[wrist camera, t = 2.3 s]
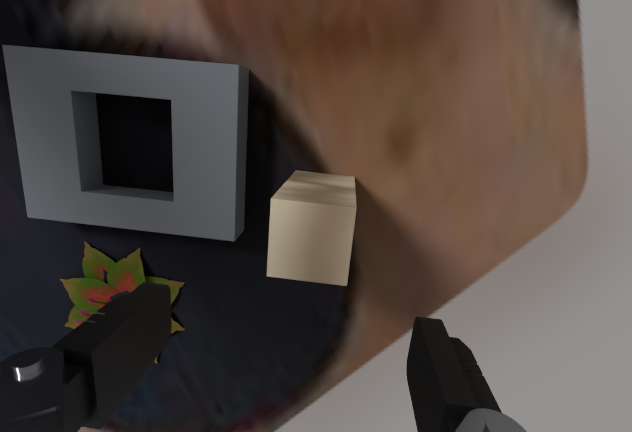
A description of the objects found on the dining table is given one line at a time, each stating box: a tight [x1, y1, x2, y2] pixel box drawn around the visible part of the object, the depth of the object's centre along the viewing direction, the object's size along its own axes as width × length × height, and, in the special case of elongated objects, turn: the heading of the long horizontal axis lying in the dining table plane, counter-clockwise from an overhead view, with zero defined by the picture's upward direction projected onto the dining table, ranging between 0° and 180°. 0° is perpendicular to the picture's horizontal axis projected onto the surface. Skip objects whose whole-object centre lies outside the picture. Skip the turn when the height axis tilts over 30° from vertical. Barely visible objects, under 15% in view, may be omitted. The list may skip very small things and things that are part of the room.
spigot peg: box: [267, 171, 357, 286], centre depth 23 cm, size 4×4×9 cm
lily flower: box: [60, 242, 185, 363], centre depth 30 cm, size 12×12×5 cm
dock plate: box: [2, 45, 249, 241], centre depth 27 cm, size 16×12×2 cm
